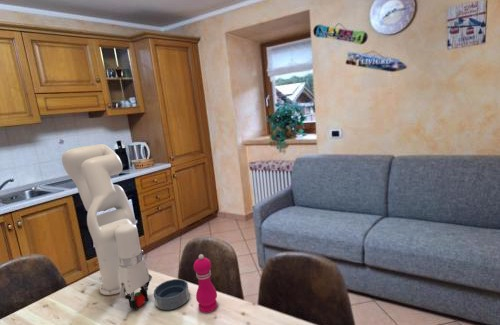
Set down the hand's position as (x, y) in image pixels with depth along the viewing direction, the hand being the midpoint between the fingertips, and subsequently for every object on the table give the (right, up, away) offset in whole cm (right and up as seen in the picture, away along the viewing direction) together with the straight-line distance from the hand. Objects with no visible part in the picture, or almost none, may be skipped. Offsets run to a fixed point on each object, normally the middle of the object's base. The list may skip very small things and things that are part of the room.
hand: (139, 303), depth 116 cm
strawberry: (0, -1, 0) cm, 1 cm away
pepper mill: (+26, +1, -5) cm, 27 cm away
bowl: (+12, +1, +1) cm, 12 cm away
